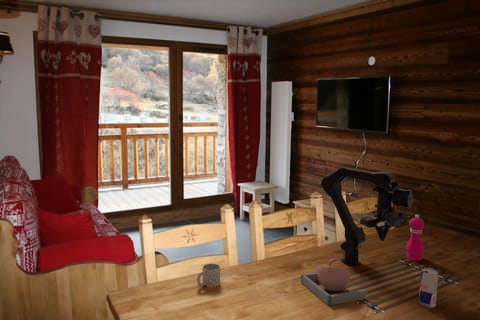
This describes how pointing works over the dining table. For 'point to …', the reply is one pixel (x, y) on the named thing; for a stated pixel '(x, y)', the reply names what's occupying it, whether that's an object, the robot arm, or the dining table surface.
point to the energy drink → (428, 287)
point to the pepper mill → (415, 239)
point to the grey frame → (324, 296)
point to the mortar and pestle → (333, 277)
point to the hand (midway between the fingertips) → (382, 240)
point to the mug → (210, 275)
